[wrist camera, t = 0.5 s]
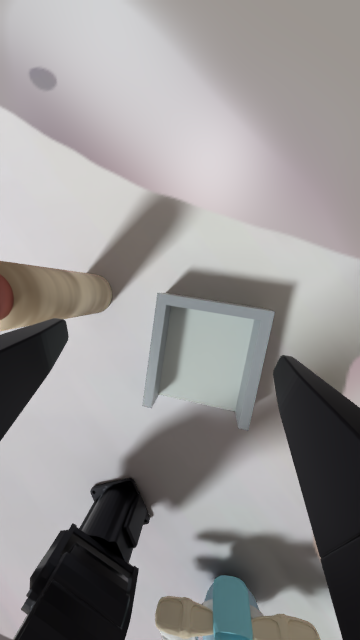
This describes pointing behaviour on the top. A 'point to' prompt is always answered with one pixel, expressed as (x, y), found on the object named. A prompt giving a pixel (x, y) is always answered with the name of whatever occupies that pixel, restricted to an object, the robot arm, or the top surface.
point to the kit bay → (207, 353)
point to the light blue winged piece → (226, 617)
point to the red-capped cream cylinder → (48, 294)
